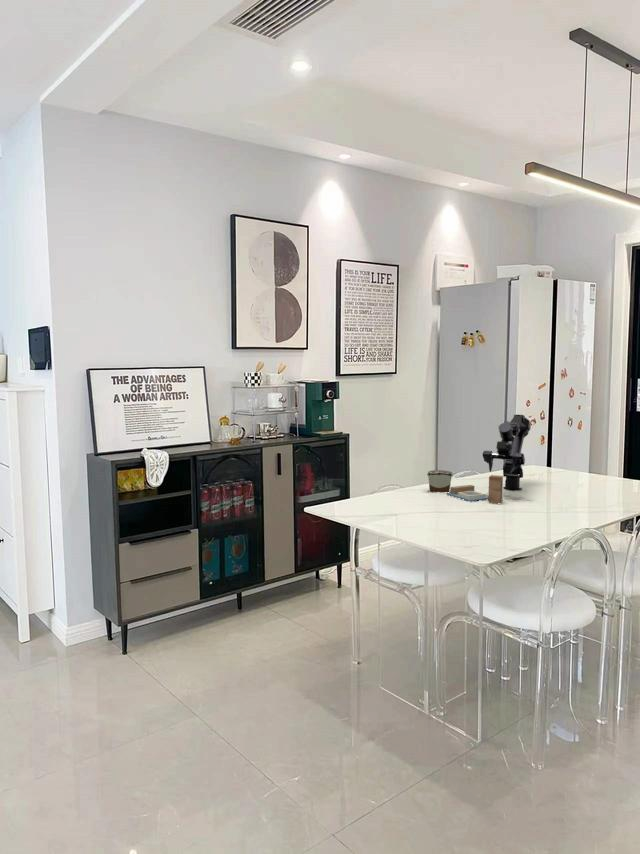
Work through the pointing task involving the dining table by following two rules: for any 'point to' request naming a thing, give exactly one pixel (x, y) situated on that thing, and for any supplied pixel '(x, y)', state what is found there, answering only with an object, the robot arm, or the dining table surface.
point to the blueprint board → (466, 493)
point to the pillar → (495, 489)
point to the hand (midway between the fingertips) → (499, 472)
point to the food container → (439, 480)
